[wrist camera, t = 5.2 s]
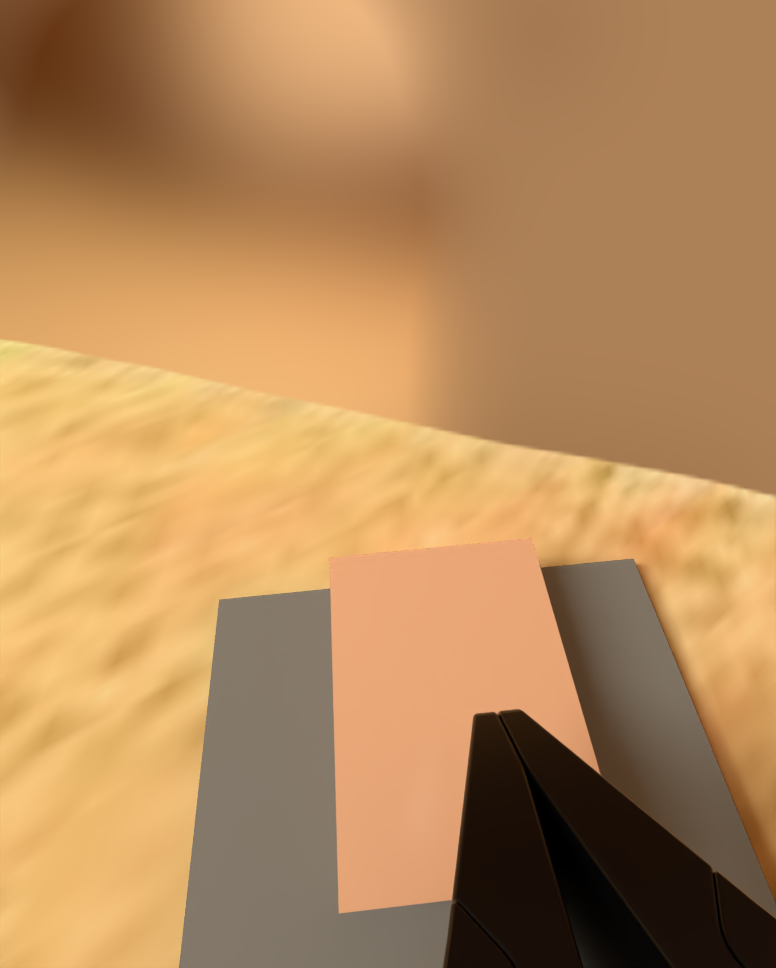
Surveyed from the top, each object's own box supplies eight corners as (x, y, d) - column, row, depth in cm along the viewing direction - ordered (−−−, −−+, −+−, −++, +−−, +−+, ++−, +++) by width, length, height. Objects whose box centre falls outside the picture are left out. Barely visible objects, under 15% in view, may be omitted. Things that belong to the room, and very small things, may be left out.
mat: (990, 1467, 8) (1028, 1513, 8) (121, 1607, 8) (103, 1663, 7) (627, 564, 18) (633, 558, 18) (224, 604, 18) (219, 599, 17)
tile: (630, 878, 11) (531, 538, 16) (338, 913, 11) (329, 557, 15) (595, 862, 13) (517, 563, 18) (348, 890, 13) (337, 581, 17)
